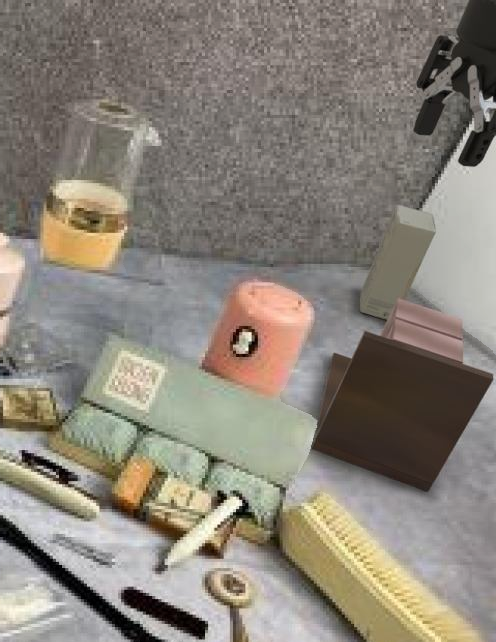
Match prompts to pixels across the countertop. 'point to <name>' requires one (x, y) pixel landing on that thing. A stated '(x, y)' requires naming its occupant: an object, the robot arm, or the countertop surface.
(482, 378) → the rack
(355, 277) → the countertop surface
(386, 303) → the cosmetic box
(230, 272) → the countertop surface
